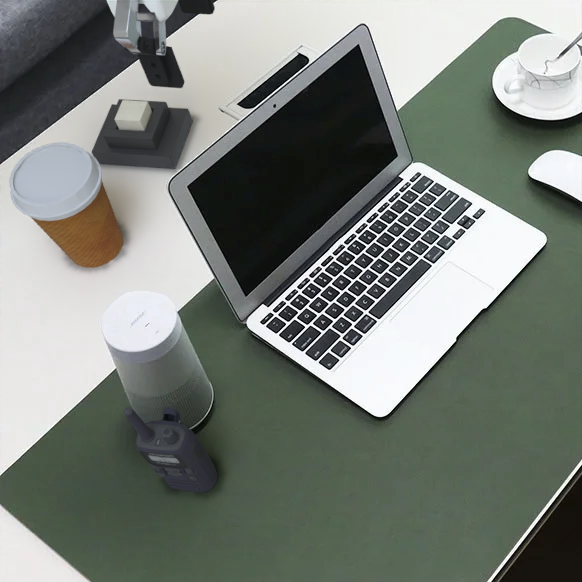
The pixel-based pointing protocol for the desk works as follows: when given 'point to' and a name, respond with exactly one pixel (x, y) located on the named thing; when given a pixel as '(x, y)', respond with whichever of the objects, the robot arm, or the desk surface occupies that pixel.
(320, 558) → the desk surface
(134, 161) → the key block
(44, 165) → the disposable coffee cup
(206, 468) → the two-way radio
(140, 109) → the key
